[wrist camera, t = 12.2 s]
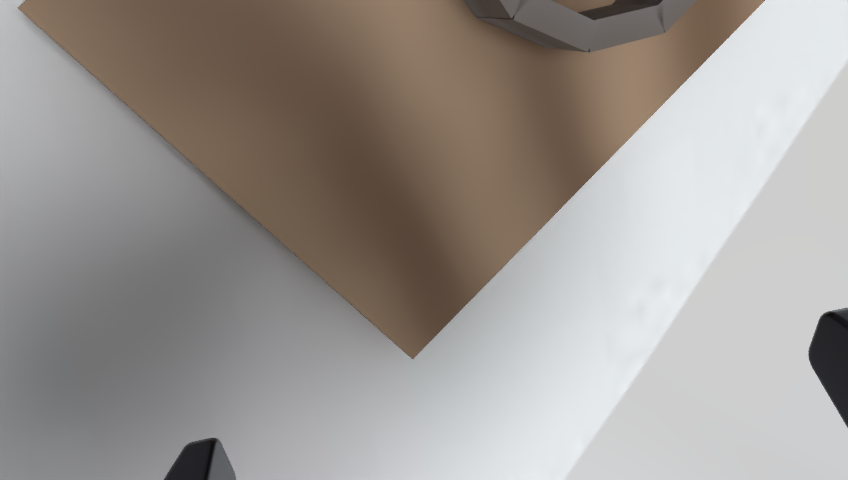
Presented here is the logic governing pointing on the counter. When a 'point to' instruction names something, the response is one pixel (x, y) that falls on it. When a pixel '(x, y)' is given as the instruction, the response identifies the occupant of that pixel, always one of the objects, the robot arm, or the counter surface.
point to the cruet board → (395, 119)
